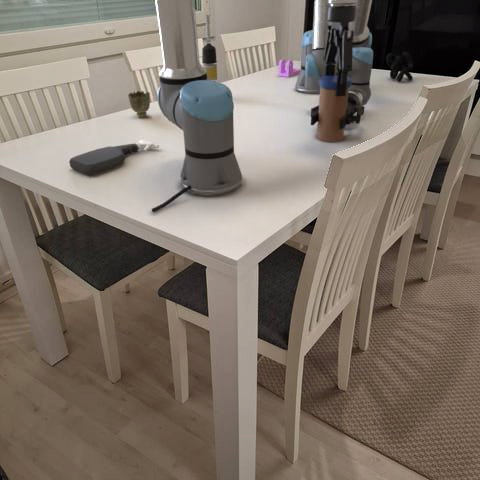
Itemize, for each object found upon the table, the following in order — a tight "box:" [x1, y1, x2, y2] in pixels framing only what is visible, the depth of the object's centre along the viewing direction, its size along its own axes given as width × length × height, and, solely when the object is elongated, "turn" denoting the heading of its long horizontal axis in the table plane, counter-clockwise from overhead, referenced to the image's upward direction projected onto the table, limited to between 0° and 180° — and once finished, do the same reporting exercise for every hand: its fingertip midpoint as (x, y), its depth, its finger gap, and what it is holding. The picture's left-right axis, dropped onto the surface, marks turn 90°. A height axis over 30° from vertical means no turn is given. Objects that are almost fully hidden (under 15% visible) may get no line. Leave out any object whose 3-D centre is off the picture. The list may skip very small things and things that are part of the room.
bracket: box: [277, 59, 301, 78], centre depth 213 cm, size 13×6×7 cm, turn 143°
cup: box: [127, 90, 151, 118], centre depth 157 cm, size 8×7×8 cm
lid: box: [319, 75, 352, 89], centre depth 129 cm, size 9×9×2 cm
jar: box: [316, 87, 349, 143], centre depth 133 cm, size 8×8×17 cm
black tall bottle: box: [201, 14, 218, 82], centre depth 171 cm, size 6×6×30 cm
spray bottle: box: [68, 139, 160, 177], centre depth 124 cm, size 3×11×24 cm
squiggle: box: [385, 51, 414, 83], centre depth 198 cm, size 11×10×15 cm
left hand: (334, 91), depth 130 cm, fingers closed on lid, 9 cm apart
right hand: (326, 122), depth 131 cm, fingers closed on jar, 8 cm apart
